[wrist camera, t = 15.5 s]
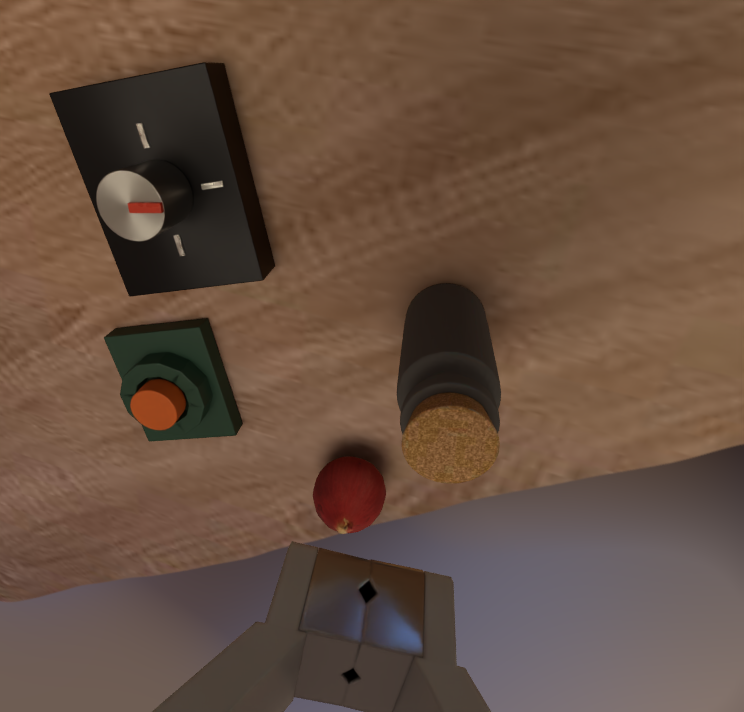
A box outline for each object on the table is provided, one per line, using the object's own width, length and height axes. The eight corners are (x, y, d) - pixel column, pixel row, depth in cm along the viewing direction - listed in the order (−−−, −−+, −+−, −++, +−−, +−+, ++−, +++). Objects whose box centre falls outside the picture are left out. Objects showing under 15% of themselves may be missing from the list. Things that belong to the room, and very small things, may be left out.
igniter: (114, 328, 42) (89, 348, 39) (208, 317, 41) (189, 337, 38) (157, 430, 46) (138, 455, 43) (242, 423, 45) (228, 449, 42)
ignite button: (134, 380, 40) (122, 392, 39) (177, 376, 40) (167, 388, 38) (150, 419, 42) (140, 432, 40) (192, 415, 41) (183, 428, 40)
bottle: (394, 339, 40) (373, 471, 27) (423, 270, 37) (416, 379, 24) (465, 365, 40) (480, 507, 27) (499, 299, 37) (534, 421, 24)
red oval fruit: (365, 498, 48) (353, 572, 41) (311, 468, 47) (289, 538, 40) (401, 458, 45) (395, 529, 38) (344, 425, 44) (327, 491, 37)
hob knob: (139, 224, 34) (103, 243, 31) (124, 159, 32) (83, 170, 29) (198, 224, 34) (168, 243, 30) (186, 159, 32) (153, 170, 28)
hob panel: (78, 91, 34) (46, 93, 31) (223, 63, 32) (203, 62, 29) (149, 281, 40) (127, 297, 37) (275, 266, 38) (262, 281, 35)
